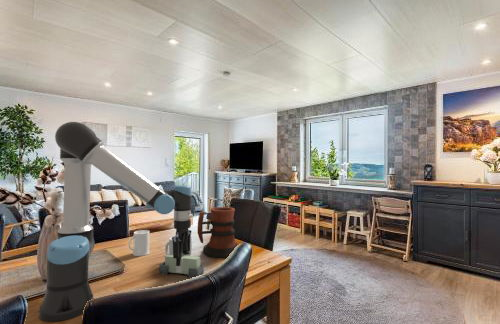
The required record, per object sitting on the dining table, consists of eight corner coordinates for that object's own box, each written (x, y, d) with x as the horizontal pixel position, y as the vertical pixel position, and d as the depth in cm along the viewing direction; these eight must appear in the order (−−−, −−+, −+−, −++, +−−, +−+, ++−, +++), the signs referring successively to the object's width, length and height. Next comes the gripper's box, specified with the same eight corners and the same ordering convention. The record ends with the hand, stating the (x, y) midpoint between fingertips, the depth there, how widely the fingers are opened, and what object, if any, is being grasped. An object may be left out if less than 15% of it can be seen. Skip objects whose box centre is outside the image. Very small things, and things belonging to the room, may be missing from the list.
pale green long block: (196, 275, 115) (196, 259, 115) (165, 271, 119) (164, 256, 119) (200, 272, 118) (200, 256, 118) (169, 268, 122) (169, 253, 122)
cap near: (197, 279, 113) (197, 270, 113) (188, 278, 114) (188, 268, 114) (203, 273, 119) (203, 264, 119) (195, 272, 120) (195, 263, 120)
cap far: (167, 274, 117) (167, 266, 117) (158, 273, 118) (159, 264, 118) (174, 269, 123) (174, 261, 123) (166, 268, 124) (166, 260, 124)
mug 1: (132, 259, 135) (132, 236, 135) (123, 255, 140) (124, 233, 141) (152, 253, 145) (153, 231, 145) (144, 249, 150) (144, 229, 150)
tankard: (245, 256, 142) (246, 211, 142) (199, 261, 134) (200, 213, 134) (235, 244, 163) (236, 205, 163) (195, 247, 155) (196, 206, 155)
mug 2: (157, 264, 129) (158, 238, 129) (172, 257, 139) (173, 232, 139) (181, 269, 123) (182, 242, 123) (195, 262, 133) (196, 236, 133)
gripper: (180, 223, 110) (179, 279, 110) (198, 216, 126) (197, 264, 125) (164, 222, 112) (163, 277, 112) (184, 215, 128) (183, 263, 127)
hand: (181, 270), depth 118 cm, fingers closed on pale green long block, 3 cm apart
